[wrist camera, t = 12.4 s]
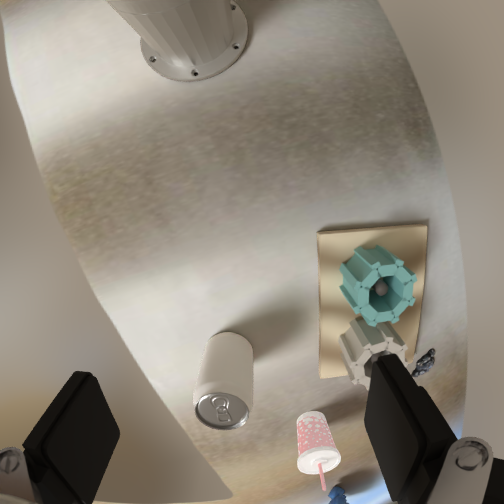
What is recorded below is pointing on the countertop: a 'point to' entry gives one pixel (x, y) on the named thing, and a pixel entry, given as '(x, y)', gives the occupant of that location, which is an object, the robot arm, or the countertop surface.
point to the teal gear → (366, 274)
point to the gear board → (337, 307)
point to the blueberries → (424, 363)
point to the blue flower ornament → (337, 496)
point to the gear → (368, 348)
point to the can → (225, 382)
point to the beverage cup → (316, 445)
